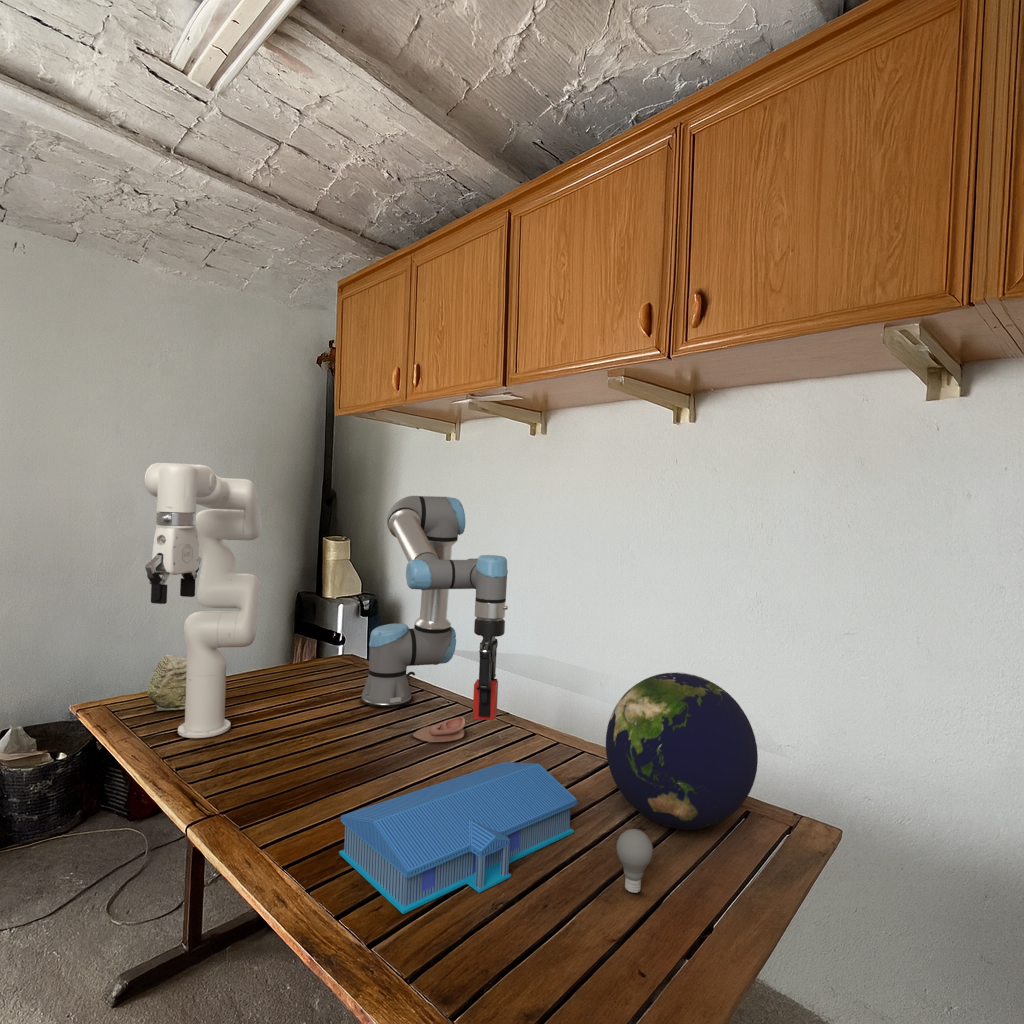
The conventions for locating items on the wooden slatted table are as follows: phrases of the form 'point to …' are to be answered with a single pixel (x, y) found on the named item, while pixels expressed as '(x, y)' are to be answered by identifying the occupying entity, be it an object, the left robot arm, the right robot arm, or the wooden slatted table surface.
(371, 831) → the model building
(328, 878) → the wooden slatted table surface
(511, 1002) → the wooden slatted table surface
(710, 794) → the globe
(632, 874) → the light bulb
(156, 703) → the fossil
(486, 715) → the right robot arm
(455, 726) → the anatomical model
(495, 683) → the brick
